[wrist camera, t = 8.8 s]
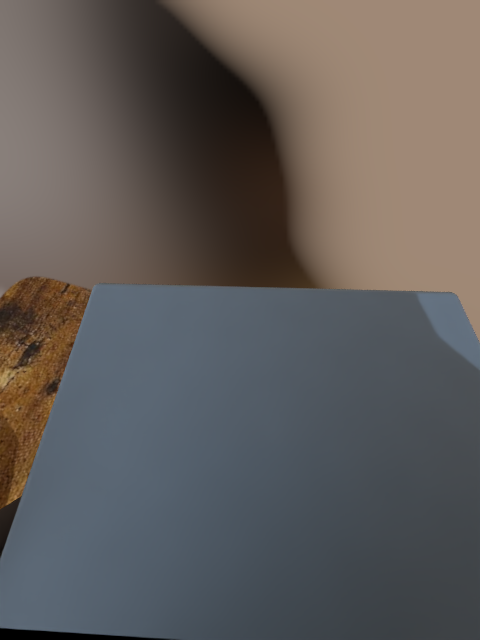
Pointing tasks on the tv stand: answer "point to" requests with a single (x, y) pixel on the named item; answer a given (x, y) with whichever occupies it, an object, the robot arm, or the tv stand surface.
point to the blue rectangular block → (255, 471)
